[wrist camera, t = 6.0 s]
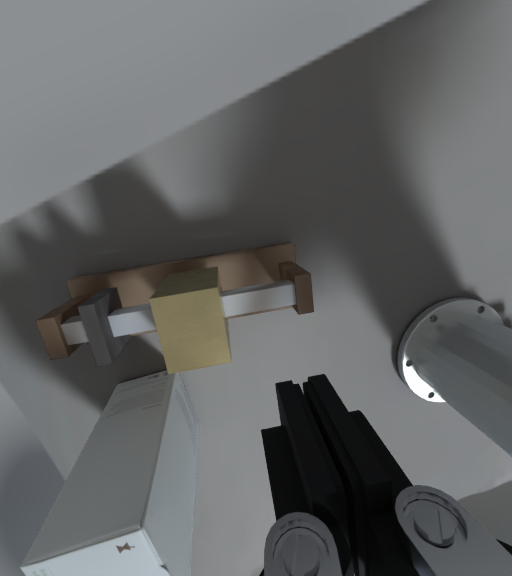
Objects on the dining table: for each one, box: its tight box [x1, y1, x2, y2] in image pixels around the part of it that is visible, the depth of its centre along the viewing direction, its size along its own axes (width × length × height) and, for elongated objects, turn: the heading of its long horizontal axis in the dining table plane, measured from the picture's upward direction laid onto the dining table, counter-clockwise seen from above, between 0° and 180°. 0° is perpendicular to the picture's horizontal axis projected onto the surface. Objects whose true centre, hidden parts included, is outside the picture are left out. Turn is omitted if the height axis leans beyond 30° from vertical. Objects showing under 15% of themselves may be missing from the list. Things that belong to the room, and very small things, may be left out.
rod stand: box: [36, 243, 314, 367], centre depth 23 cm, size 20×6×8 cm, turn 98°
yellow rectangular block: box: [149, 266, 232, 374], centre depth 21 cm, size 4×5×7 cm
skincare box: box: [20, 370, 199, 576], centre depth 23 cm, size 8×7×16 cm
